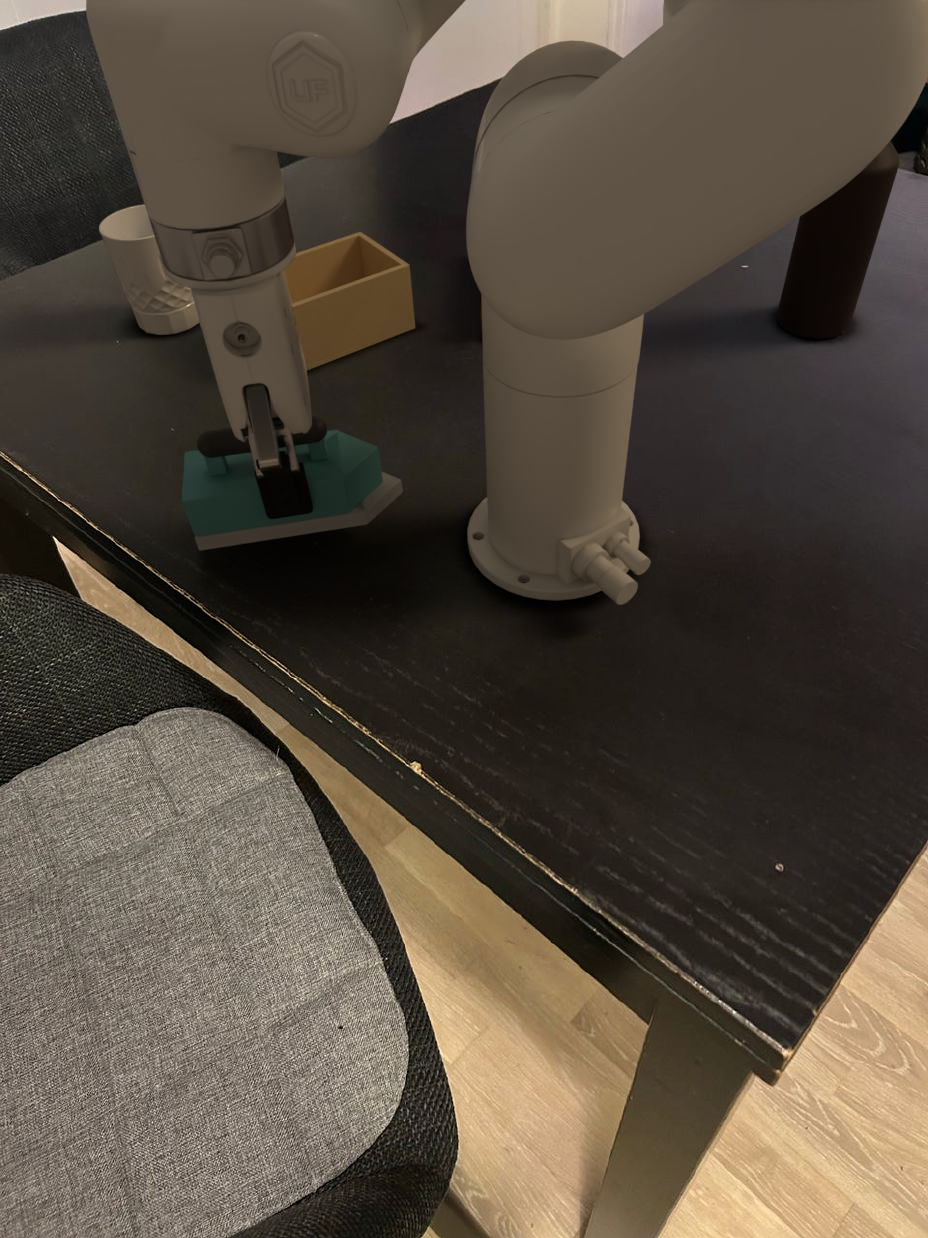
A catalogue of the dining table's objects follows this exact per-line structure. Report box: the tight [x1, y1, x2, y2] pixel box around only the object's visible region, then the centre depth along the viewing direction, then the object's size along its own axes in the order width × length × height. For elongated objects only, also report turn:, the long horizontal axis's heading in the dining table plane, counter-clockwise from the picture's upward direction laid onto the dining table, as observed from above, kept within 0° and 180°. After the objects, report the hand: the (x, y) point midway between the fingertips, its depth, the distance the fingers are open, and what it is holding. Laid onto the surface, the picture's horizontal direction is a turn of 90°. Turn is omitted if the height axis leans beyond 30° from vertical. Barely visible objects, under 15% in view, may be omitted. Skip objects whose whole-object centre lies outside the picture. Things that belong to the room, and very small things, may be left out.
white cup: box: [98, 203, 200, 336], centre depth 86 cm, size 8×8×10 cm
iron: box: [181, 415, 404, 552], centre depth 62 cm, size 15×6×8 cm, turn 100°
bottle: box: [776, 140, 900, 340], centre depth 77 cm, size 7×7×20 cm
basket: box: [284, 231, 416, 371], centre depth 85 cm, size 9×13×6 cm
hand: (288, 482), depth 63 cm, fingers closed on iron, 5 cm apart
